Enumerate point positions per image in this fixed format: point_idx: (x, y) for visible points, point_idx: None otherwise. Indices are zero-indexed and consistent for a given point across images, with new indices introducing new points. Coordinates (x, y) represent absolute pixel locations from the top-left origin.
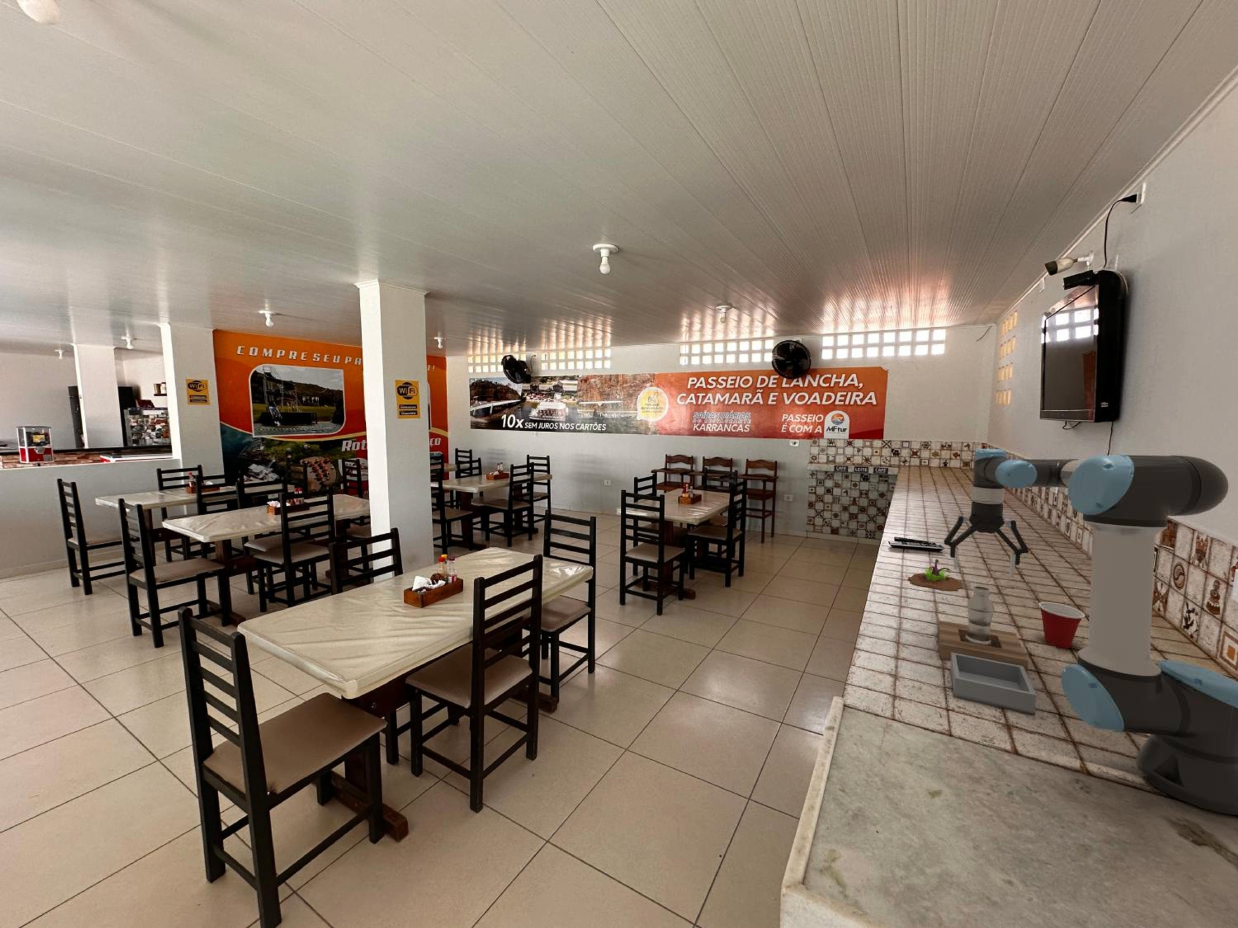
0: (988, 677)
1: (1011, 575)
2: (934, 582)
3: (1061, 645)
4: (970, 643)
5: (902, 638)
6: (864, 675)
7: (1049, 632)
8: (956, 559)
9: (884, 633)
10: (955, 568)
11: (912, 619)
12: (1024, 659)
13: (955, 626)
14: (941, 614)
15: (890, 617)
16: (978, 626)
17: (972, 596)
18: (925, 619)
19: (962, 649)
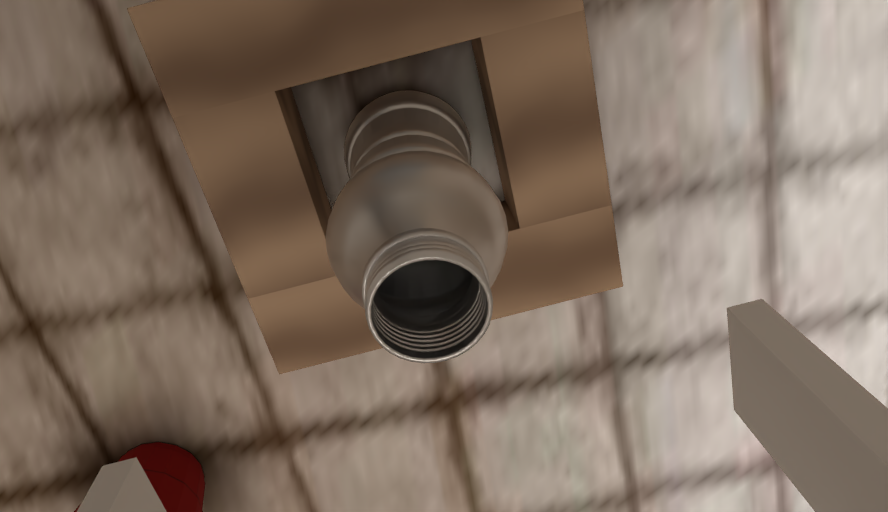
0: None
1: (125, 466)
2: None
3: (132, 453)
4: (429, 41)
5: (747, 50)
6: None
7: (164, 484)
8: (835, 390)
9: (837, 51)
10: (755, 307)
11: (719, 343)
12: (144, 4)
13: (535, 255)
14: (609, 486)
15: (817, 295)
16: (407, 132)
17: (486, 268)
18: (665, 383)
19: None
